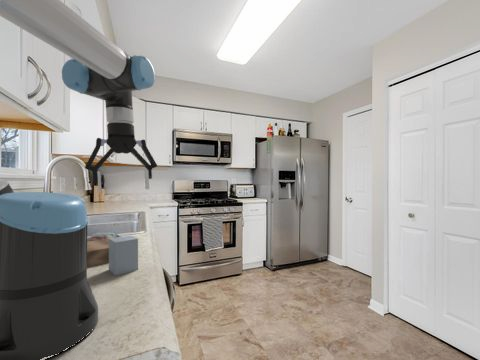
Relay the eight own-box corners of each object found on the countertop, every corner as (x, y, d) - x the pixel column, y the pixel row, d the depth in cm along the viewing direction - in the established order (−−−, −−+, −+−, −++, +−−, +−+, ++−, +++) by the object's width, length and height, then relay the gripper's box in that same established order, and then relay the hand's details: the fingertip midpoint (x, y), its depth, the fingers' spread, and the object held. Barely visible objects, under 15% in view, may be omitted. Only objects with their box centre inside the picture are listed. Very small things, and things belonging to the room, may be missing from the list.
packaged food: (113, 247, 90) (113, 234, 90) (80, 248, 88) (80, 236, 88) (121, 241, 98) (121, 230, 98) (91, 243, 96) (91, 231, 97)
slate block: (115, 275, 62) (115, 242, 62) (108, 269, 66) (108, 238, 66) (138, 269, 66) (137, 238, 66) (130, 264, 70) (130, 235, 70)
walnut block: (86, 268, 68) (86, 251, 68) (77, 258, 78) (77, 243, 78) (135, 257, 78) (135, 242, 78) (121, 249, 88) (121, 236, 88)
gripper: (158, 128, 81) (161, 186, 83) (72, 122, 68) (77, 193, 69) (164, 124, 75) (167, 188, 77) (70, 117, 61) (76, 195, 63)
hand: (124, 190), depth 73 cm, fingers open, 13 cm apart
